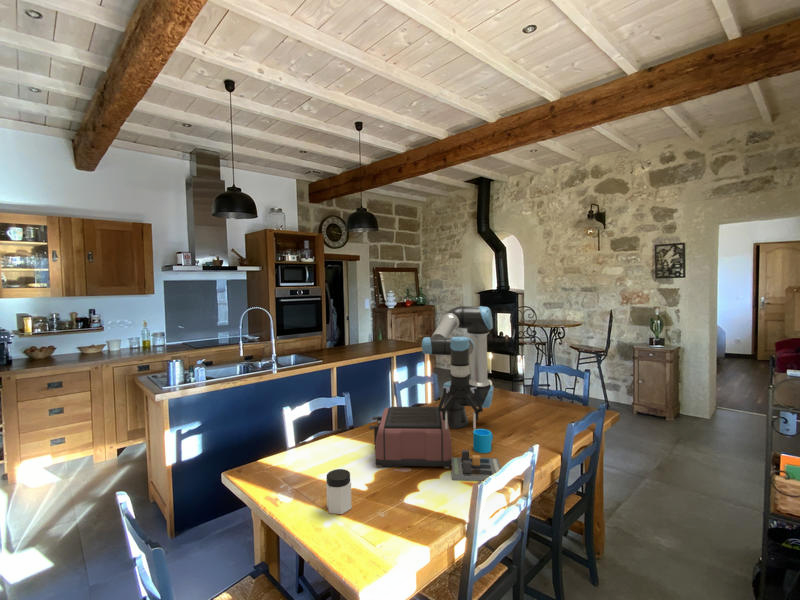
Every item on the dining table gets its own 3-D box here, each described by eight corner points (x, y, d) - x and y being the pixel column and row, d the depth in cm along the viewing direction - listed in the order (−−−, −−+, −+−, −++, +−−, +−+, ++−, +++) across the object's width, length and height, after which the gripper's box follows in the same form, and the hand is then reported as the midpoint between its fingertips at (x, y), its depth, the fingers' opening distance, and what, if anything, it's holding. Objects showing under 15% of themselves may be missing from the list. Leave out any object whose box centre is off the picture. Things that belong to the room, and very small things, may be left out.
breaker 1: (461, 458, 174) (461, 449, 173) (468, 458, 173) (468, 449, 173) (462, 461, 171) (462, 452, 171) (469, 461, 170) (469, 452, 170)
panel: (451, 461, 176) (451, 456, 176) (498, 463, 174) (498, 458, 174) (452, 480, 160) (452, 474, 160) (504, 481, 158) (504, 476, 158)
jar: (341, 498, 148) (340, 466, 147) (356, 506, 143) (355, 472, 142) (321, 509, 141) (320, 475, 140) (337, 517, 136) (336, 483, 135)
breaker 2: (463, 469, 164) (463, 460, 163) (470, 469, 163) (470, 460, 163) (463, 473, 161) (463, 463, 161) (471, 473, 161) (471, 463, 160)
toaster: (375, 439, 202) (374, 404, 201) (447, 440, 199) (447, 404, 198) (366, 468, 171) (365, 427, 170) (452, 469, 169) (452, 428, 168)
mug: (484, 454, 182) (484, 437, 182) (469, 449, 188) (469, 432, 188) (499, 447, 190) (499, 430, 190) (485, 442, 196) (485, 425, 196)
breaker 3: (472, 464, 168) (472, 454, 168) (479, 464, 168) (479, 455, 168) (472, 467, 165) (472, 457, 165) (480, 467, 165) (480, 458, 165)
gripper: (431, 377, 163) (431, 430, 164) (490, 377, 160) (490, 432, 162) (431, 372, 170) (432, 424, 171) (487, 373, 168) (487, 425, 169)
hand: (460, 427), depth 166 cm, fingers open, 11 cm apart
